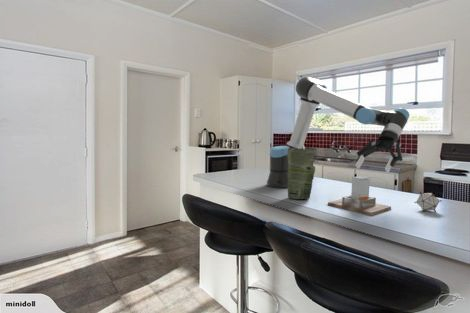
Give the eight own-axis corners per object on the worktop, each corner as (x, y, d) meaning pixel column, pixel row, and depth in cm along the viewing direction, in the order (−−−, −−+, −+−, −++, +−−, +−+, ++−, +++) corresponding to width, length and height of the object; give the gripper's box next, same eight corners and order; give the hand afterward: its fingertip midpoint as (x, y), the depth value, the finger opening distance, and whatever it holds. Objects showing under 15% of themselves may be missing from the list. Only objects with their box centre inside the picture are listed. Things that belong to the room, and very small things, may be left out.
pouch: (283, 196, 145) (284, 146, 143) (303, 194, 149) (305, 146, 147) (295, 201, 135) (297, 148, 132) (317, 199, 139) (319, 147, 137)
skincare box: (357, 206, 123) (359, 178, 122) (350, 203, 127) (351, 176, 126) (368, 205, 125) (370, 177, 124) (361, 202, 129) (362, 176, 128)
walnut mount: (327, 204, 129) (328, 195, 129) (348, 199, 139) (348, 191, 138) (371, 215, 113) (371, 205, 113) (391, 209, 123) (391, 199, 122)
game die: (426, 218, 123) (434, 198, 125) (441, 217, 115) (449, 195, 117) (407, 207, 124) (415, 187, 126) (420, 205, 116) (429, 184, 118)
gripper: (421, 141, 128) (403, 178, 121) (367, 139, 148) (349, 170, 141) (416, 129, 125) (397, 166, 117) (362, 129, 145) (343, 160, 137)
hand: (371, 169), depth 129 cm, fingers open, 13 cm apart
